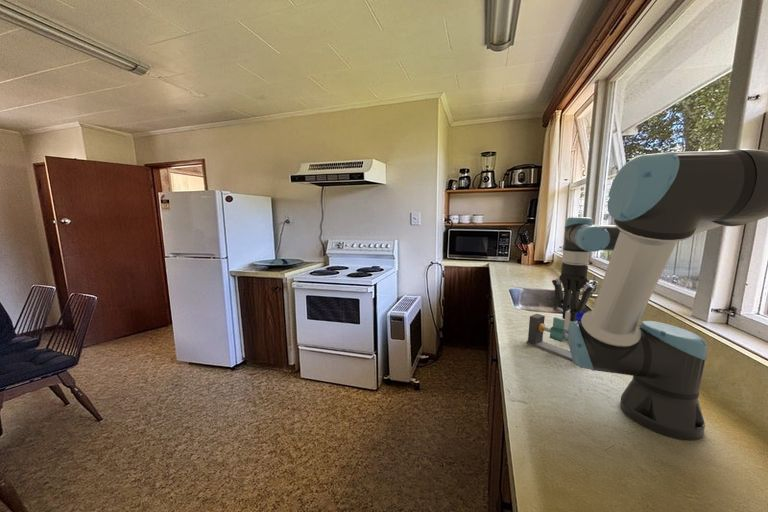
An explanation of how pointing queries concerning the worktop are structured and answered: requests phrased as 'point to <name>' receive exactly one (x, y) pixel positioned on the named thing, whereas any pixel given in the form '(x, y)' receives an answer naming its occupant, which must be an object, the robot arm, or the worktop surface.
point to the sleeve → (558, 329)
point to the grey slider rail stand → (537, 337)
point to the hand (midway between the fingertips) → (567, 328)
